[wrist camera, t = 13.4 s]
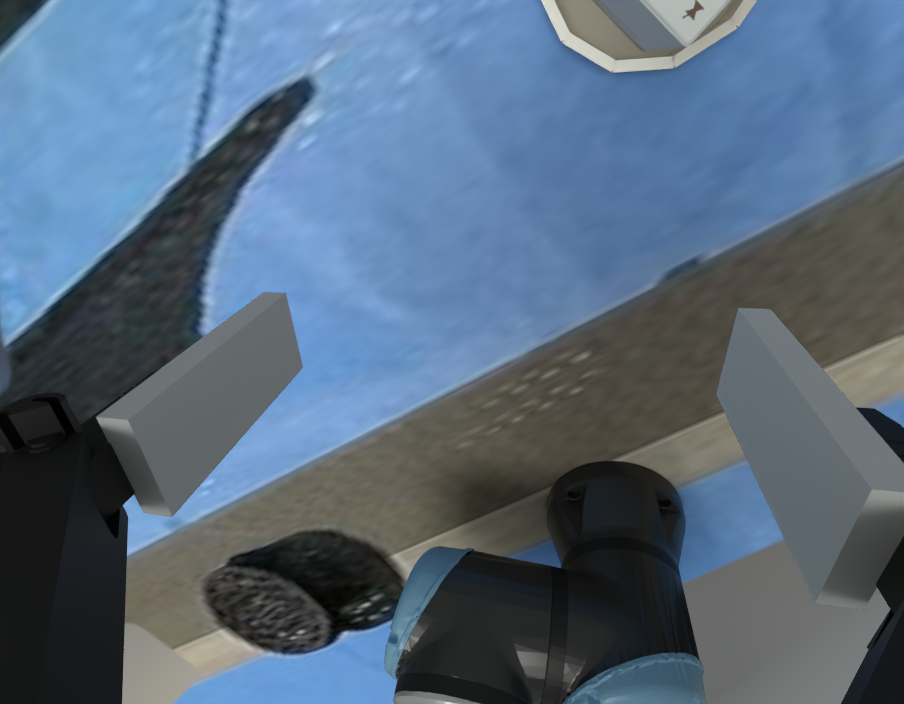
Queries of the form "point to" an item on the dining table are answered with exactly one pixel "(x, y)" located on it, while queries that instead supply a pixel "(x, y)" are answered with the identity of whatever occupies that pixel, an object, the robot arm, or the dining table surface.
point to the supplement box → (662, 20)
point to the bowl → (615, 51)
